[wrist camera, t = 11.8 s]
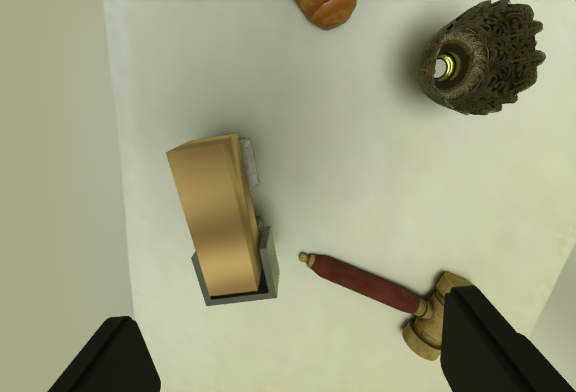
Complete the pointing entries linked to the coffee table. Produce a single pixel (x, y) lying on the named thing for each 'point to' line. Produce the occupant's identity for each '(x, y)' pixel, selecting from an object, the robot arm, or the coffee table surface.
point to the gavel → (395, 300)
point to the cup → (483, 58)
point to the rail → (219, 212)
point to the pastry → (327, 11)
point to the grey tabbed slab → (249, 161)
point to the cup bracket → (267, 278)
